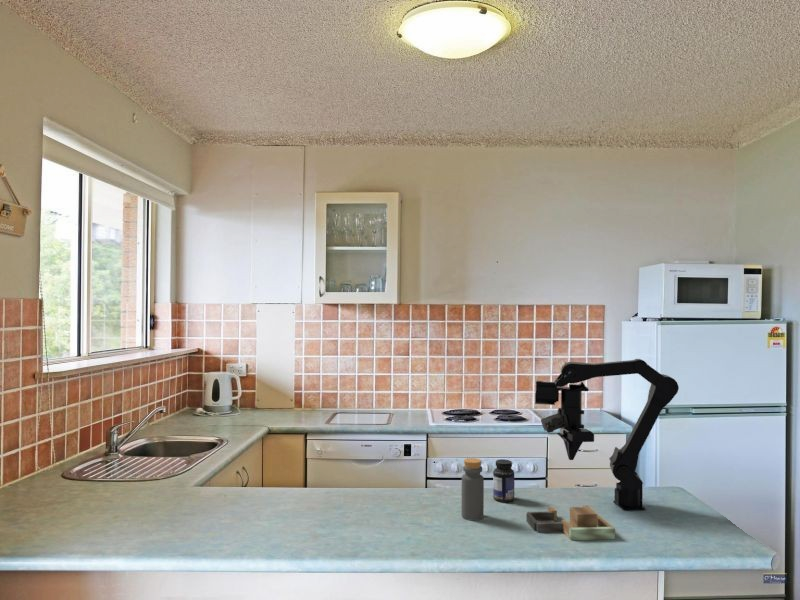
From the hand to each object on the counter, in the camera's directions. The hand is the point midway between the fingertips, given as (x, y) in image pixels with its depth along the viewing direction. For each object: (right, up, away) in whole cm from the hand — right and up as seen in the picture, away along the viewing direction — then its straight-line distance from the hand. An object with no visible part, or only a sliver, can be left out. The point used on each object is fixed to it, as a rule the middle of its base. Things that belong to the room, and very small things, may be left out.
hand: (570, 459), depth 164 cm
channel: (-7, -12, -19) cm, 24 cm away
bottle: (-30, -12, -13) cm, 35 cm away
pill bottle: (-19, -12, +1) cm, 23 cm away
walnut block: (-3, -12, -21) cm, 25 cm away
